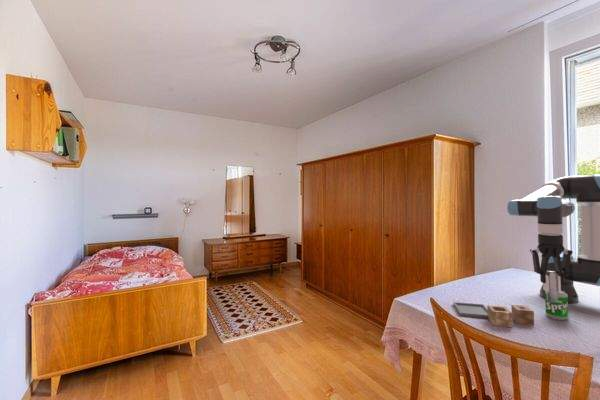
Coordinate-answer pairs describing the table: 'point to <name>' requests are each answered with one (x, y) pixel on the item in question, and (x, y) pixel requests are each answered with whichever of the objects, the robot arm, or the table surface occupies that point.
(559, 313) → the soda can
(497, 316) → the go block
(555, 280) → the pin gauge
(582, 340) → the table surface
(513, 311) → the walnut block
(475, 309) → the tray
